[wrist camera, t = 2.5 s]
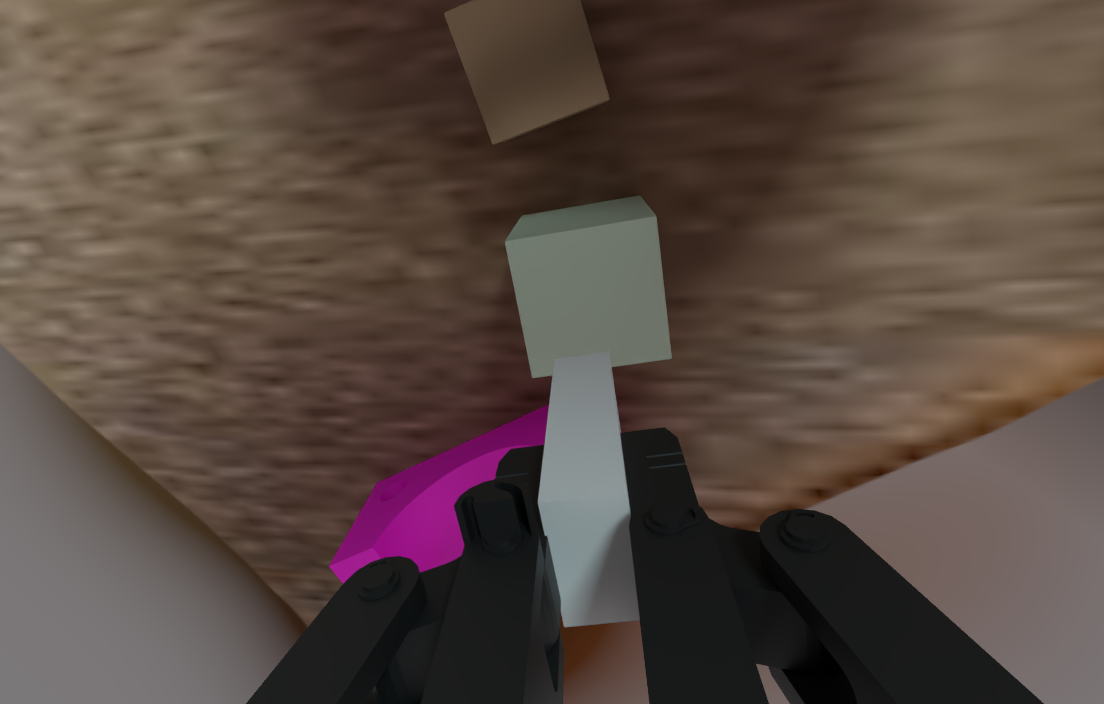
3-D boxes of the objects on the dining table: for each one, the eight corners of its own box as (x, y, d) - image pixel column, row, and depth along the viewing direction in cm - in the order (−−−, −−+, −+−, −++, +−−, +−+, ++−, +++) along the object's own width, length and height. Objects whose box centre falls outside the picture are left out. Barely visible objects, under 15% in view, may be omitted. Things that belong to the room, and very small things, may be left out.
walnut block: (467, 31, 27) (443, 12, 22) (570, -12, 26) (568, -42, 21) (507, 141, 28) (492, 144, 24) (605, 103, 28) (610, 98, 23)
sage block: (521, 215, 30) (504, 241, 23) (639, 195, 29) (656, 216, 22) (542, 325, 32) (532, 378, 25) (653, 309, 31) (672, 358, 25)
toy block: (431, 553, 38) (397, 650, 31) (378, 480, 36) (328, 566, 29) (641, 466, 35) (656, 552, 28) (594, 381, 33) (597, 450, 26)
